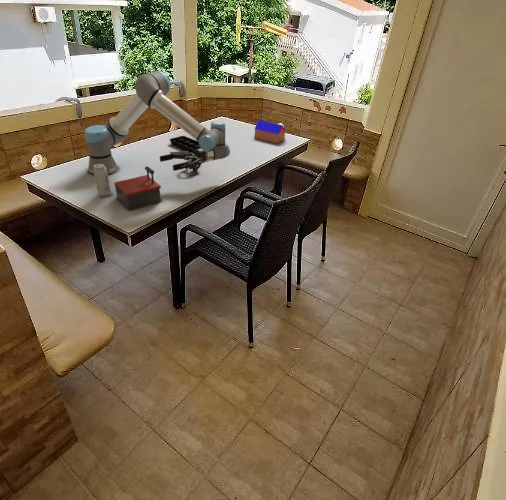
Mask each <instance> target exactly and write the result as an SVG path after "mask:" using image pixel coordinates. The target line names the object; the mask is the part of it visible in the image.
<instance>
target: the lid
mask: <svg viewBox="0 0 506 500" xmlns="http://www.w3.org/2000/svg"><path fill="white" fill-rule="evenodd" d="M144 170H145V171H146V174H145V175H140V176H136V177H132V178H127V179H123V180H118V181H115V182H113V183H114V186H115V185H116V186H117V187H118V188H119V189H120V190H121V191H122V192H123V193H124V194H125V195H126V196H127V197H128V196H132V195H136V194H139V193H143V192H147V191H151V190H155V189H161V188H162V186H161V185H160V184H159V183H158V182H157V181H156V180H155V179H154V174H155V170H153V169H152V168H151V167H149V166H148V165H145V167H144ZM150 176H151V177H150Z"/></svg>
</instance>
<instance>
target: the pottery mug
mask: <svg viewBox="0 0 506 500" xmlns="http://www.w3.org/2000/svg"><path fill="white" fill-rule="evenodd" d="M186 162H188V160H186V161H185V164H186ZM201 166H202V164H199V165H197V166H196V167H194V168H193V169H191V171H190V172H189V173H190V175H191V176H194V175H196V174H198V173H199V169H200V168H201ZM184 169H185V170H188V169H189V168H184Z"/></svg>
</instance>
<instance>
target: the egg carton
mask: <svg viewBox="0 0 506 500" xmlns="http://www.w3.org/2000/svg"><path fill="white" fill-rule="evenodd" d="M169 142H170V144H171V145H172V146H175V147H176V148H179V149H181V150H182V151H189V153H193V152H194V150H195V149H199V148H201V147H200V145H199V142H198V141H197V140H196V139H194V138H190V137H188V136H187V135H180V136H176V137H172V138H169Z"/></svg>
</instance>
